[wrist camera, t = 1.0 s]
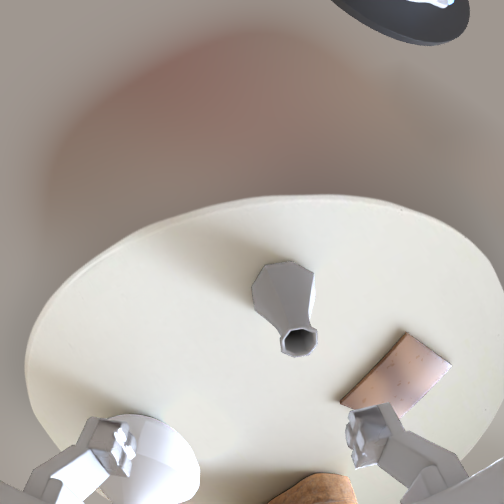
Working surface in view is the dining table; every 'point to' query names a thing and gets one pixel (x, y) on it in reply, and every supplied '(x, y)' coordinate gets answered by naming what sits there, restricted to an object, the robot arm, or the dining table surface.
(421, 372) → the coaster
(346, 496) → the bread
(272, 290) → the flask
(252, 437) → the dining table surface
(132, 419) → the vase
